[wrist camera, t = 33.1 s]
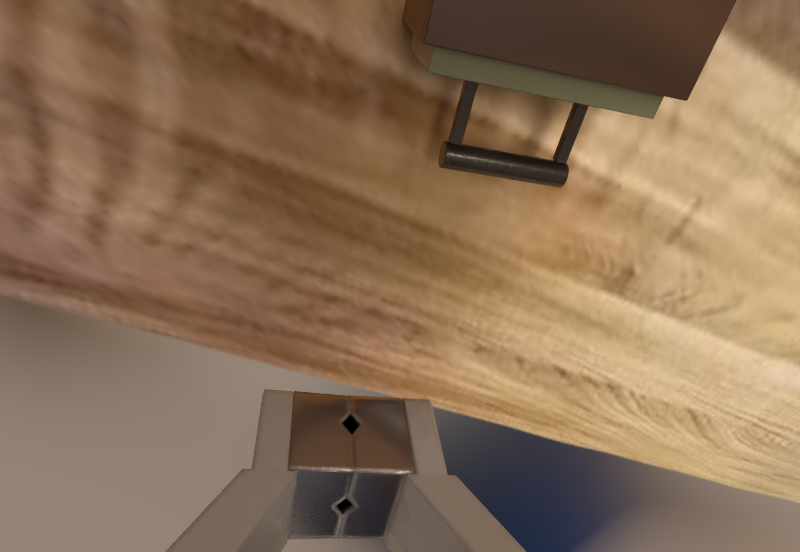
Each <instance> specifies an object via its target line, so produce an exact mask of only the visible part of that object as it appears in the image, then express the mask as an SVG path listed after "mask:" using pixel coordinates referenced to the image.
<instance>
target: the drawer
mask: <svg viewBox="0 0 800 552" xmlns="http://www.w3.org/2000/svg"><path fill="white" fill-rule="evenodd" d="M411 50H412V51H413V53H414V54H415V55H416V57H417V58H418V60H419V61H420V62H421V64H422V65H423V66H424V68H425V69H426V71H427V72H428V73H432V74H437V75H442V76H447V77H452V78H456V79H461V80H464V83H463V87H462V91H461V94H460V98H459V102H458V106H457V110H456V113H455V117H454V121H453V125H452V129H451V132H450V136H449V141H444V142H443V144H442V146H441V149H440V153H439V167H441V168H445V169H451V170H457V171H463V172H469V173H475V174H481V175H487V176H493V177H499V178H505V179H511V180H517V181H523V182H529V183H535V184H541V185H546V186H552V187H558V188H560V187H562V186H563V185H564V184H565V182H566V180H567V178H568V173H569V168H568V165H567V163H566V162H567V159H568V157H569V154H570V152H571V149H572V147H573V144H574V141H575V139H576V136H577V134H578V131H579V129H580V126H581V124H582V121H583V119H584V116H585V114H586V111H587V109H588V106H593V107H597V108H602V109H607V110H612V111H617V112H622V113H627V114H631V115H636V116H641V117H646V118H651V119H653V118H654V116H655V114H656V112H657V110H658V108H659V106H660V104H661V101H662V99H663V97H664V96H661V95H657V94H652V93H648V92H643V91H638V90H634V89H629V88H625V87H620V86H615V85H611V84H606V83H602V82H597V81H592V80H588V79H583V78H578V77H574V76H569V75H565V74H560V73H555V72H551V71H546V70H542V69H537V68H532V67H528V66H523V65H519V64H514V63H509V62H505V61H500V60H495V59H491V58H486V57H482V56H477V55H472V54H468V53H463V52H459V51H454V50H449V49H445V48H440V47H436V46H431V45H426V44H424V43H423V42H422V41H421V40H420V39H419V38H418V37H417V36H416V34H415V33H413V38H412V43H411ZM478 83H481V84H486V85H490V86H495V87H500V88H505V89H510V90H515V91H520V92H524V93H529V94H534V95H539V96H544V97H549V98H554V99H558V100H563V101H568V102H573V103H574V104H573V106H572V109H571V112H570V114H569V117H568V119H567V122H566V125H565V127H564V130H563V133H562V135H561V138H560V141H559V143H558V146H557V149H556V151H555V154H554V156H553V160H549V159H544V158H538V157H532V156H527V155H521V154H516V153H510V152H504V151H499V150H493V149H488V148H482V147H477V146H471V145H465V144H462V140H463V137H464V133H465V129H466V126H467V122H468V118H469V115H470V111H471V108H472V104H473V100H474V97H475V93H476V90H477V86H478Z"/></svg>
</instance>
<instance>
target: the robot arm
mask: <svg viewBox="0 0 800 552" xmlns="http://www.w3.org/2000/svg"><path fill="white" fill-rule="evenodd" d="M317 538H350V539H382V540H383V539H384V540H385V543H386V545H387V547H388V548H389V550H390V552H526V551H525V550H524V549H523V548H522V547H521V546H520V545H519V543H518V542H517V541H516V540H515V539H514V538H513V537H512V536H511V535H510V534H509V533H508V532H507V531H506V529H505V528H504V527H503V526H502V525H501V524H500V523H499V522H498V521H497V520H496V519H495V518H494V517H493V515H492V514H491V513H490V512H489V511H488V510H487V509H486V508H485V507H484V506H483V505H482V504H481V503H480V501H479V500H478V499H477V498H476V497H475V496H474V495H473V494H472V493H471V492H470V491H469V490H468V488H467V487H465V485H464V484H463V483H462V482H461V481H460V480H459V479H458V478H457V477H456V476H452V475H447V470H446V466H445V462H444V457H443V453H442V448H441V444H440V440H439V435H438V431H437V426H436V422H435V418H434V413H433V409H432V404H431V403H430V401H429V400H427V399H408V398H402V399H400V398H390V397H370V396H350V395H349V396H344V395H332V394H320V393H309V392H297V391H294V395H293V392H291V391H279V390H268V389H265V390H264V393H263V396H262V403H261V410H260V417H259V423H258V430H257V437H256V444H255V450H254V457H253V464H252V469H242V470H241V471H240V472H239V473H238V474H237V476H236V477H235V478H234V479H233V480H232V481H231V482H230V483H229V484H228V485H227V486H226V487H225V488H224V489H223V491H222V492H221V493H220V494H219V495H218V496H217V497H216V498H215V499H214V500H213V501H212V502H211V503H210V504H209V506H208V507H207V508H206V509H205V510H204V511H203V512H202V513H201V514H200V515H199V516H198V517H197V518H196V520H195V521H194V522H193V523H192V524H191V525H190V526H189V527H188V528H187V529H186V530H185V531H184V532H183V533H182V535H181V536H180V537H179V538H178V539H177V540H176V541H175V542H174V543H173V544H172V545H171V546H170V548H169V549H168V550H167V551H166V552H281V551H282V549H283V548H284V546H285V545H286V543H287V539H317Z"/></svg>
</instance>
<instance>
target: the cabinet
mask: <svg viewBox="0 0 800 552" xmlns="http://www.w3.org/2000/svg"><path fill="white" fill-rule="evenodd" d="M735 2H736V0H406V4H405V10H404V15H403V21H404V22H405V23H406V24H407V26H408V27H409V28H410V29H411V30H412V31H413V32H414V33H415V34H416V36H417V37H418V38H419V39H420V40H421V41H422V42H423V43H424V44H426V45H431V46H436V47H440V48H445V49H449V50H454V51H459V52H463V53H468V54H472V55H477V56H482V57H486V58H491V59H495V60H500V61H505V62H509V63H514V64H519V65H523V66H528V67H532V68H537V69H542V70H546V71H551V72H555V73H560V74H565V75H569V76H574V77H578V78H583V79H588V80H592V81H597V82H602V83H606V84H611V85H615V86H620V87H625V88H629V89H634V90H638V91H643V92H648V93H652V94H657V95H661V96H666V97H671V98H675V99H680V100H685V101H686V100H688V98H689V96H690V94H691V92H692V90H693V88H694V86H695V84H696V82H697V80H698V77H699V75H700V73H701V71H702V69H703V67H704V65H705V63H706V61H707V59H708V57H709V55H710V53H711V51H712V49H713V47H714V45H715V43H716V41H717V39H718V37H719V35H720V33H721V31H722V29H723V27H724V25H725V23H726V21H727V18H728V16H729V14H730V12H731V10H732V8H733V6H734V4H735Z"/></svg>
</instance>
